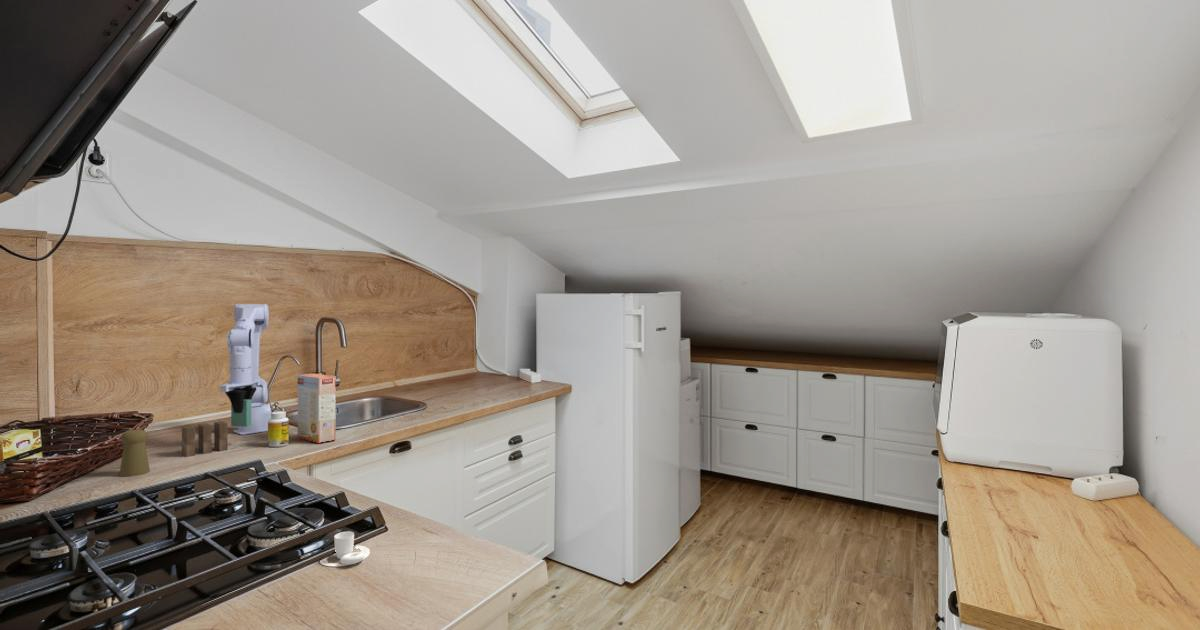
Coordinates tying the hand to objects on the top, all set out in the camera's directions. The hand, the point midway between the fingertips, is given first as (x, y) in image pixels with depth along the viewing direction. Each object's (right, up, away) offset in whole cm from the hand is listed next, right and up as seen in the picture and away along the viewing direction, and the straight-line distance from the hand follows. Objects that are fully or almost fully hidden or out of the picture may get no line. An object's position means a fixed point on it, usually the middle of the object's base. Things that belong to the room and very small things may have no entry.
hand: (241, 411), depth 170 cm
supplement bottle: (+12, -11, 0) cm, 16 cm away
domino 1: (-8, -11, -11) cm, 17 cm away
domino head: (0, -4, 0) cm, 4 cm away
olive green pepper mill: (-9, -11, -29) cm, 32 cm away
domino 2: (-5, -10, -8) cm, 14 cm away
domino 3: (-3, -10, -5) cm, 12 cm away
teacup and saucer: (+66, -12, -78) cm, 103 cm away
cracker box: (+19, -11, +8) cm, 23 cm away
